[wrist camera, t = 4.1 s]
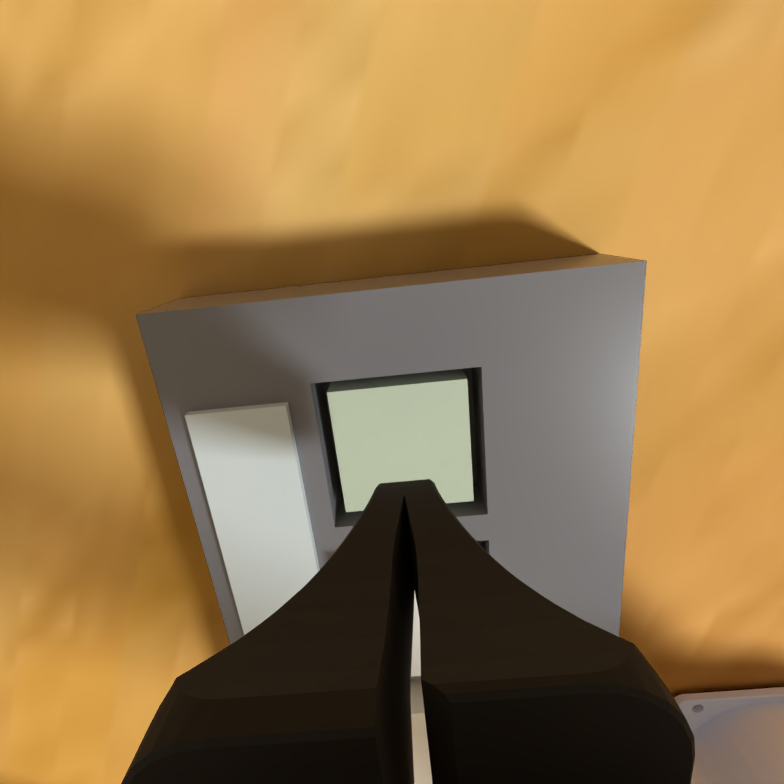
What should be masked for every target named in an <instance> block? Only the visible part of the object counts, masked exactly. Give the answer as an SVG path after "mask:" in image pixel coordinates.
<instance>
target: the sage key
mask: <svg viewBox="0 0 784 784" xmlns="http://www.w3.org/2000/svg"><path fill="white" fill-rule="evenodd" d="M327 397H328V404H329V410H330V416H331V422H332V429H333V435H334V441H335V447H336V454H337V460H338V466H339V472H340V479H341V485H342V491H343V497H344V504H345V510H346V512H354V511H363V510H364V509H365V507H366V505H367V504H368V502H369V500H370V498H371V496H372V494H373V492H374V490H375V488H376V487H377V486H378V485H379V484H380V483H390V482H401V481H413V480H424V479H430V480H432V481H433V482H434V483H435V485H436V488H437V490H438V491H439V493H440V495H441V497H442V498H443V500H444V501H445V503H456V502H468V501H474V495H473V476H472V458H471V439H470V420H469V402H468V383H467V377H466V375H465V373H464V371H463V369H454V370H443V371H433V372H423V373H413V374H403V375H393V376H382V377H372V378H362V379H352V380H342V381H332V382H331V383H330V386H329V388H328V391H327Z"/></svg>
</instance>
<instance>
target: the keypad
mask: <svg viewBox="0 0 784 784" xmlns="http://www.w3.org/2000/svg"><path fill="white" fill-rule="evenodd" d="M646 263H647V261H645V260H639V259H632V258H626V257H619V256H613V255H606V254H593V255H583V256H574V257H565V258H555V259H546V260H536V261H527V262H518V263H508V264H499V265H489V266H480V267H471V268H461V269H452V270H442V271H433V272H424V273H414V274H405V275H395V276H386V277H377V278H367V279H358V280H349V281H339V282H330V283H320V284H311V285H302V286H292V287H283V288H273V289H264V290H255V291H245V292H236V293H226V294H217V295H208V296H198V297H189V298H181V299H178V300H175V301H172V302H170V303H167V304H164V305H161V306H158V307H156V308H153V309H150V310H147V311H145V312H142V313H139V314H136V317H137V321H138V324H139V328H140V331H141V335H142V338H143V342H144V345H145V349H146V352H147V356H148V359H149V362H150V366H151V369H152V373H153V376H154V380H155V383H156V387H157V390H158V394H159V397H160V401H161V404H162V408H163V411H164V415H165V418H166V422H167V425H168V429H169V432H170V436H171V439H172V443H173V446H174V450H175V453H176V457H177V460H178V464H179V467H180V471H181V474H182V478H183V481H184V485H185V488H186V492H187V495H188V499H189V502H190V505H191V509H192V512H193V516H194V519H195V523H196V526H197V530H198V533H199V537H200V540H201V544H202V547H203V551H204V554H205V558H206V561H207V565H208V568H209V572H210V575H211V579H212V582H213V586H214V589H215V593H216V596H217V600H218V603H219V607H220V610H221V614H222V617H223V621H224V624H225V628H226V631H227V635H228V638H229V641H230V645H231V644H232V643H234V642H235V641H237V640H238V639H240V638H241V637H243V636H244V635H245V634H247V633H248V632H250V631H251V630H252V629H254V628H255V627H256V626H258V625H259V624H260V623H262V622H263V621H264V620H266V619H267V618H268V617H269V616H271V615H272V614H273V613H275V612H276V611H277V610H278V609H279V608H280V607H282V606H283V605H284V604H285V603H286V602H287V601H288V600H289V599H291V598H292V597H293V596H294V595H295V594H296V593H297V592H298V591H300V590H301V589H302V588H303V587H304V586H305V585H306V584H307V583H308V582H309V581H310V580H311V579H312V578H313V577H314V576H315V575H316V573H317V572H318V571H319V570H320V569H321V568H322V567H323V566H324V565H325V563H326V562H327V561H328V560H329V559H330V557H331V556H332V555H333V554H334V552H335V551H336V550H337V548H338V547H339V546H340V544H341V543H342V542H343V540H344V539H345V538H346V536H347V535H348V534H349V532H350V531H351V529H352V528H353V526H354V525H355V523H356V522H357V520H358V518H359V517H360V515H361V514H362V512H363V511H354V512H346V510H345V504H344V497H343V491H342V485H341V479H340V472H339V466H338V460H337V454H336V447H335V441H334V435H333V429H332V422H331V416H330V410H329V404H328V397H327V391H328V388H329V386H330V383H331V382H332V381H342V380H352V379H362V378H372V377H382V376H393V375H403V374H413V373H423V372H433V371H443V370H454V369H463V371H464V373H465V375H466V377H467V383H468V402H469V420H470V439H471V458H472V476H473V495H474V501H468V502H456V503H446V504H447V506H448V507H449V509H450V510H451V511H452V513H453V514H454V515H455V516H456V518H457V519H458V520H459V521H460V523H461V524H462V525H463V527H464V528H465V529H466V530H467V531H468V532H469V533H470V535H471V536H472V537H473V538H474V539H475V540H476V541H477V542H478V543H479V544H480V545H481V546H482V547H483V548H484V549H485V550H486V551H487V552H488V553H489V554H490V555H491V556H492V557H493V558H494V559H495V560H496V561H497V562H499V563H500V564H501V565H502V566H503V567H504V568H505V569H506V570H508V571H509V572H510V573H511V574H513V575H514V576H515V577H516V578H518V579H519V580H520V581H522V582H523V583H525V584H526V585H527V586H529V587H530V588H532V589H533V590H535V591H536V592H538V593H539V594H540V595H542V596H543V597H545V598H547V599H548V600H550V601H551V602H553V603H554V604H556V605H558V606H560V607H561V608H563V609H565V610H567V611H568V612H570V613H572V614H574V615H575V616H577V617H579V618H581V619H583V620H584V621H586V622H589V623H591V624H593V625H595V626H597V627H599V628H601V629H603V630H605V631H608V632H610V633H612V634H614V635H616V636H618V637H619V631H620V617H621V603H622V590H623V576H624V562H625V549H626V535H627V522H628V508H629V494H630V481H631V467H632V453H633V440H634V426H635V413H636V399H637V385H638V372H639V358H640V345H641V331H642V317H643V304H644V290H645V276H646ZM411 680H421V676H412V677H411Z"/></svg>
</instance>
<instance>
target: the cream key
mask: <svg viewBox="0 0 784 784" xmlns="http://www.w3.org/2000/svg"><path fill="white" fill-rule="evenodd" d="M411 721H412V744H413V765H414V784H433V783H432V774H431V765H430V756H429V748H428V739H427V730H426V721H425V712H424V703H423V695H422V686H421V680H411Z"/></svg>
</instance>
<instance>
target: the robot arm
mask: <svg viewBox="0 0 784 784" xmlns="http://www.w3.org/2000/svg"><path fill="white" fill-rule="evenodd" d="M414 594H415V595H416V601H417V607H418V613H419V619H420V658H421V686H422V695H423V703H424V712H425V721H426V730H427V739H428V748H429V756H430V765H431V774H432V783H433V784H784V687H776V688H761V689H747V690H733V691H719V692H705V693H691V694H681V695H678V696H676V697H673V696H672V694H671V693H670V691H669V690H668V688H667V687H666V685H665V684H664V683H663V681H662V680H661V679H660V677H659V676H658V674H657V673H656V672H655V670H654V669H653V668H652V666H651V665H650V664H649V662H648V661H647V660H646V658H645V657H644V656H643V654H642V653H641V652H640V651H639V649H638V648H637V647H636V645H634V644H633V643H631V642H629V641H626V640H624V639H622V638H620V637H618V636H616V635H614V634H612V633H610V632H608V631H605V630H603V629H601V628H599V627H597V626H595V625H593V624H591V623H589V622H586V621H584V620H583V619H581V618H579V617H577V616H575V615H574V614H572V613H570V612H568V611H567V610H565V609H563V608H561V607H560V606H558V605H556V604H554V603H553V602H551V601H550V600H548V599H547V598H545V597H543V596H542V595H540V594H539V593H538V592H536V591H535V590H533V589H532V588H530V587H529V586H527V585H526V584H525V583H523V582H522V581H520V580H519V579H518V578H516V577H515V576H514V575H513V574H511V573H510V572H509V571H508V570H506V569H505V568H504V567H503V566H502V565H501V564H500V563H499V562H497V561H496V560H495V559H494V558H493V557H492V556H491V555H490V554H489V553H488V552H487V551H486V550H485V549H484V548H483V547H482V546H481V545H480V544H479V543H478V542H477V541H476V540H475V539H474V538H473V537H472V536H471V535H470V533H469V532H468V531H467V530H466V529H465V528H464V527H463V525H462V524H461V523H460V521H459V520H458V519H457V518H456V516H455V515H454V514H453V513H452V511H451V510H450V509H449V507H448V506H447V504H446V503H445V501H444V500H443V498H442V497H441V495H440V493H439V491H438V490H437V488H436V485H435V483H434V482H433V481H432V480H430V479H424V480H413V481H401V482H390V483H380V484H379V485H378V486H377V487H376V488H375V490H374V492H373V494H372V496H371V498H370V500H369V502H368V504H367V505H366V507H365V509H364V510H363V512H362V514H361V515H360V517H359V518H358V520H357V522H356V523H355V525H354V526H353V528H352V529H351V531H350V532H349V534H348V535H347V536H346V538H345V539H344V540H343V542H342V543H341V544H340V546H339V547H338V548H337V550H336V551H335V552H334V554H333V555H332V556H331V557H330V559H329V560H328V561H327V562H326V563H325V565H324V566H323V567H322V568H321V569H320V570H319V571H318V572H317V573H316V575H315V576H314V577H313V578H312V579H311V580H310V581H309V582H308V583H307V584H306V585H305V586H304V587H303V588H302V589H301V590H300V591H298V592H297V593H296V594H295V595H294V596H293V597H292V598H291V599H289V600H288V601H287V602H286V603H285V604H284V605H283V606H282V607H280V608H279V609H278V610H277V611H276V612H275V613H273V614H272V615H271V616H269V617H268V618H267V619H266V620H264V621H263V622H262V623H260V624H259V625H258V626H256V627H255V628H254V629H252V630H251V631H250V632H248V633H247V634H245V635H244V636H243V637H241V638H240V639H238V640H237V641H235V642H234V643H232V644H231V645H229V646H228V647H226V648H225V649H223V650H222V651H220V652H218V653H217V654H215V655H213V656H212V657H210V658H209V659H207V660H205V661H204V662H202V663H200V664H199V665H197V666H196V667H194V668H192V669H191V670H189V671H187V672H186V673H184V674H182V675H180V676H179V677H177V678H176V680H175V681H174V683H173V685H172V687H171V688H170V690H169V692H168V693H167V695H166V697H165V698H164V700H163V702H162V703H161V705H160V706H159V708H158V710H157V712H156V714H155V716H154V718H153V720H152V722H151V724H150V726H149V728H148V730H147V732H146V734H145V736H144V738H143V740H142V742H141V744H140V746H139V748H138V750H137V752H136V754H135V757H134V759H133V761H132V763H131V765H130V767H129V769H128V771H127V773H126V775H125V777H124V779H123V781H122V783H121V784H414V765H413V744H412V721H411V662H412V640H413V618H414Z"/></svg>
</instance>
